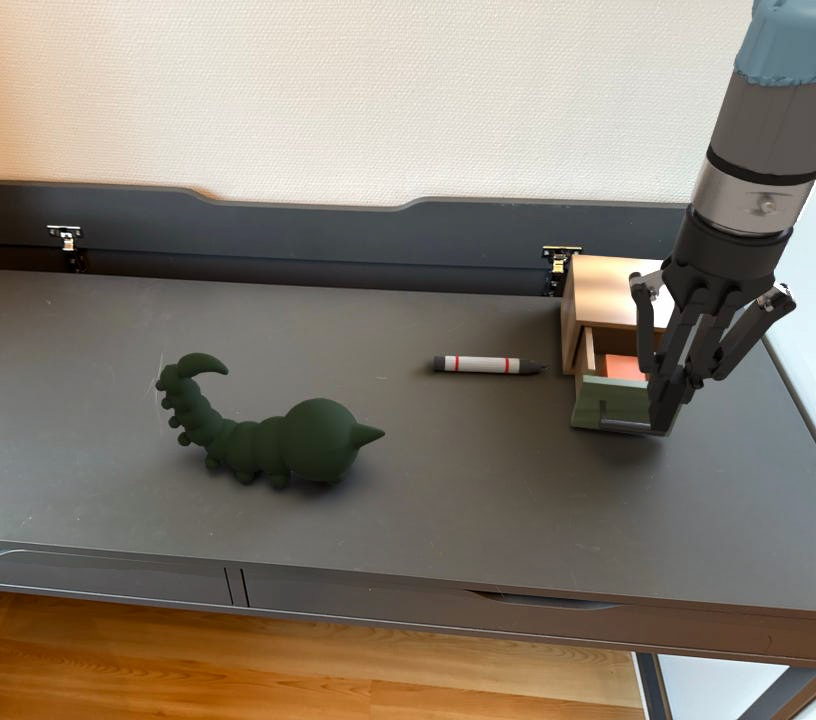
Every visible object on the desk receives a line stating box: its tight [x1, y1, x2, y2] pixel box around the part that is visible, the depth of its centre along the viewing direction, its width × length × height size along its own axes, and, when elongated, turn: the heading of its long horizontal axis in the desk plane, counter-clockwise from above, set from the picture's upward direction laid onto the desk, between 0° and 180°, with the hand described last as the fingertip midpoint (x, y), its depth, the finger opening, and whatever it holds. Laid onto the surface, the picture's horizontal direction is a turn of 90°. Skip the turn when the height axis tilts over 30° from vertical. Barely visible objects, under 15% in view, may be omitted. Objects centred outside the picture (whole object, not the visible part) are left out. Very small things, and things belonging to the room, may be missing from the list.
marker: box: [433, 355, 549, 374], centre depth 96 cm, size 15×2×2 cm, turn 84°
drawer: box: [570, 325, 684, 438], centre depth 87 cm, size 18×11×8 cm, turn 168°
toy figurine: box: [154, 352, 386, 488], centre depth 80 cm, size 9×19×25 cm
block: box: [599, 354, 646, 381], centre depth 88 cm, size 4×4×4 cm
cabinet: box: [560, 253, 674, 376], centre depth 96 cm, size 15×13×10 cm
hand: (657, 420), depth 69 cm, fingers closed
